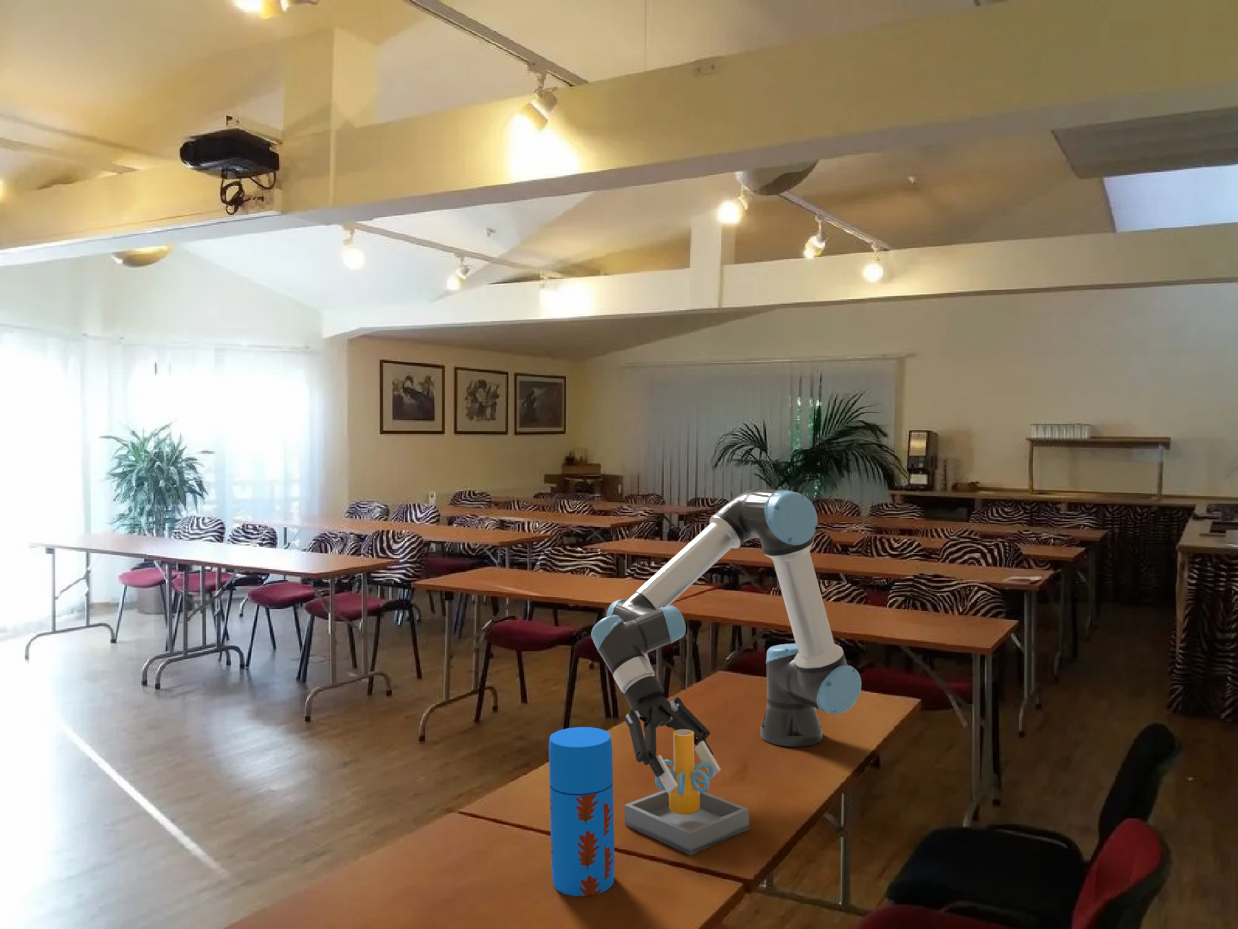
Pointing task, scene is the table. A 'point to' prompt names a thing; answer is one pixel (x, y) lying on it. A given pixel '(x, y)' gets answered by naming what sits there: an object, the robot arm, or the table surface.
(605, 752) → the thermos
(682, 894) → the table surface
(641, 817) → the tray
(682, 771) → the cylinder
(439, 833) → the table surface
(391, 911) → the table surface
